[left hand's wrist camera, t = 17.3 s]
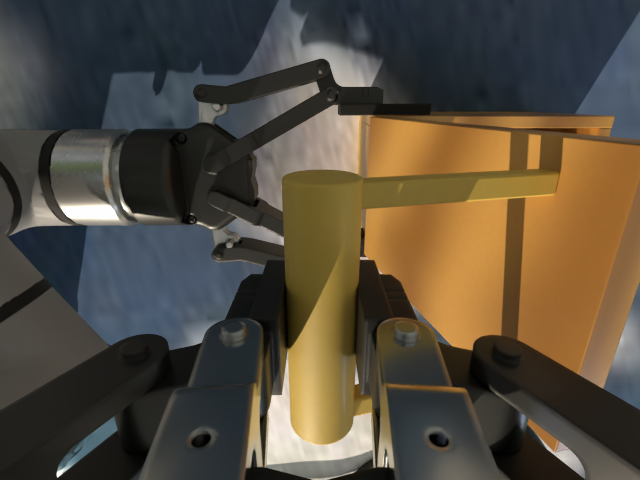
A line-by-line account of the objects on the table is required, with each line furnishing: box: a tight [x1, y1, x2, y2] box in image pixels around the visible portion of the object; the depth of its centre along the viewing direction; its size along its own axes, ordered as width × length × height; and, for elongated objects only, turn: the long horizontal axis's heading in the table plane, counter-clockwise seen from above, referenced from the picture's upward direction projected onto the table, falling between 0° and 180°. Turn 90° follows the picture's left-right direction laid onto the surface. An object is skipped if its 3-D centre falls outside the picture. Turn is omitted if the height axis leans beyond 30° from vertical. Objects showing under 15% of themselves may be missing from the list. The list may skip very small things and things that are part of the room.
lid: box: [282, 116, 640, 453], centre depth 17 cm, size 17×10×9 cm
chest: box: [358, 112, 615, 234], centre depth 31 cm, size 16×10×10 cm, turn 90°
